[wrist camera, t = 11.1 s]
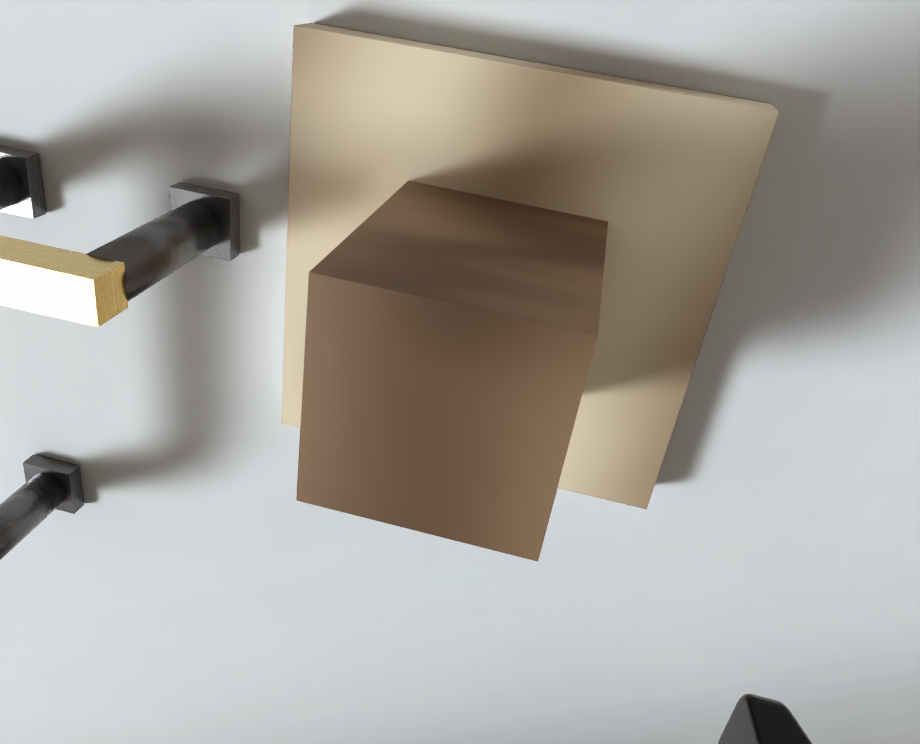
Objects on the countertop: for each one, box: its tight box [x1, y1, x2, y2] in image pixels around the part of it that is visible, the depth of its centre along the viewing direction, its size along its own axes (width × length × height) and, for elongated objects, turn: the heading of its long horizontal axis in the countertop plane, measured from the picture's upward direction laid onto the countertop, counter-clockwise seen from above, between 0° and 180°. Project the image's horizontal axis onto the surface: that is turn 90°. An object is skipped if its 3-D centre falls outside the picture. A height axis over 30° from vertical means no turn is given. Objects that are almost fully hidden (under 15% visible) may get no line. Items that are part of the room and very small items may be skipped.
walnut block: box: [297, 181, 608, 561], centre depth 15 cm, size 4×4×6 cm
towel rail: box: [0, 146, 239, 560], centre depth 20 cm, size 7×12×6 cm, turn 172°
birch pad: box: [282, 23, 779, 509], centre depth 18 cm, size 10×10×1 cm
